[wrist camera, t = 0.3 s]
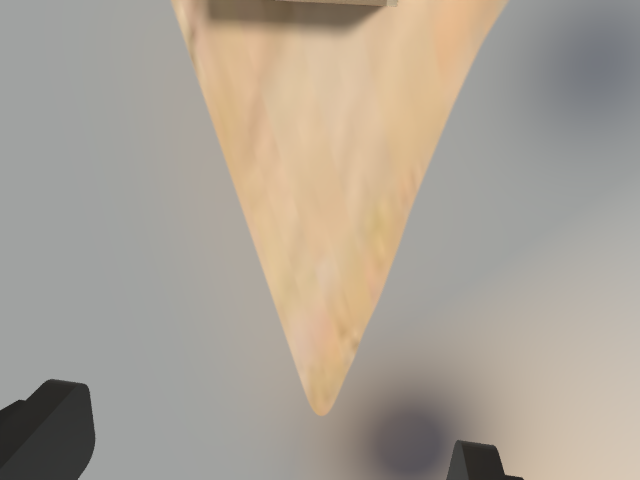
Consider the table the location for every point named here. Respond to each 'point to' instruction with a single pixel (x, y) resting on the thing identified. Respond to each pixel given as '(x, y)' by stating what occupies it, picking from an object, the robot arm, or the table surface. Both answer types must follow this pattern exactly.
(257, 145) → the table surface
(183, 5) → the table surface
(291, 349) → the table surface
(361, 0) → the oak tray
